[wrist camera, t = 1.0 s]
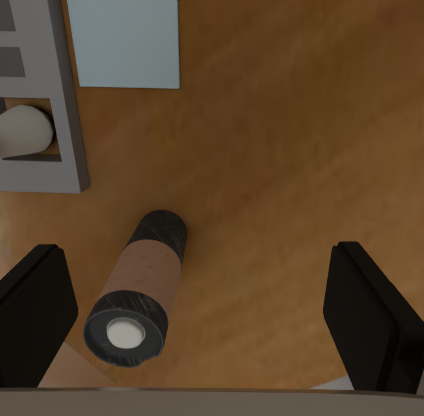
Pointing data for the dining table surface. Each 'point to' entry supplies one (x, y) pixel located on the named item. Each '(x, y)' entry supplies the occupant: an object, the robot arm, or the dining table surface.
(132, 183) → the dining table surface
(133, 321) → the travel mug
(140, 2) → the rubber mat
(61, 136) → the power strip
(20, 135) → the salt shaker
